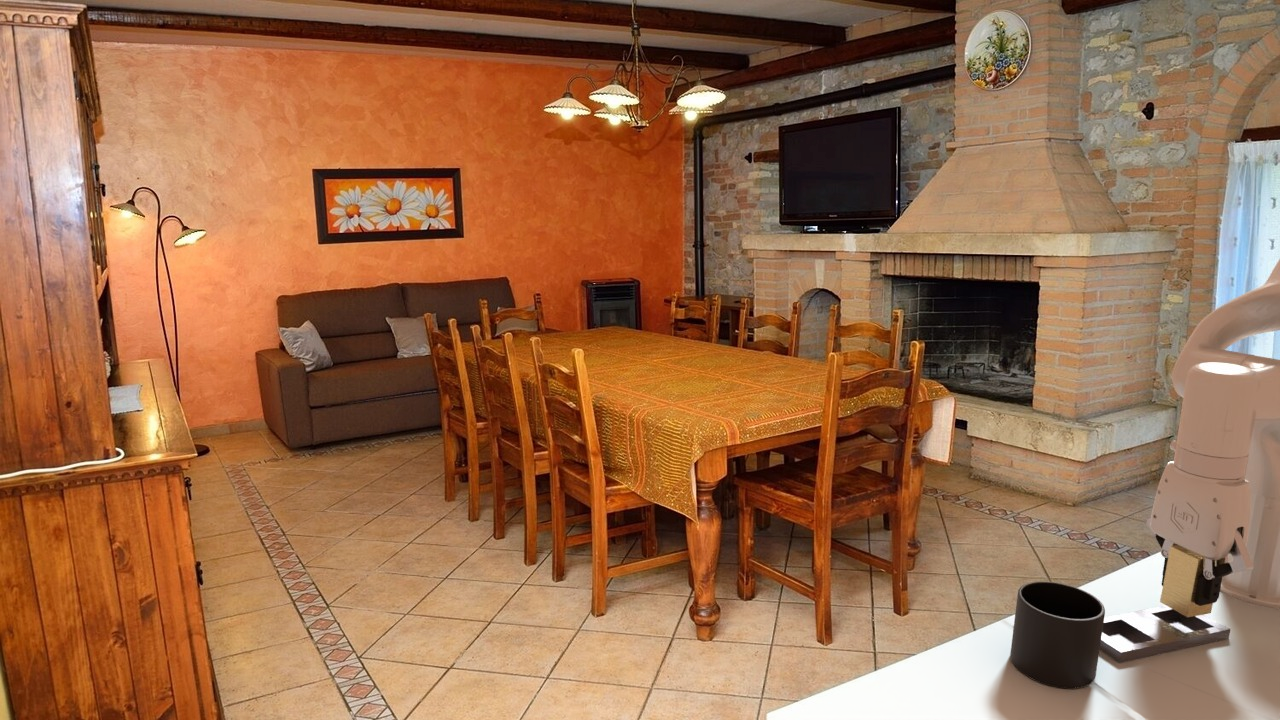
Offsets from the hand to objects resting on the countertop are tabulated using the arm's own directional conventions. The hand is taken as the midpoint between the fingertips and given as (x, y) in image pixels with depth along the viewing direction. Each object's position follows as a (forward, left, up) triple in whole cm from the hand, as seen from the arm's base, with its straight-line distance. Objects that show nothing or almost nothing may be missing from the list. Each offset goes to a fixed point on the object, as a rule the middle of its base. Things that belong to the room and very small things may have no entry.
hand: (1188, 592), depth 109 cm
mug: (+18, +11, -6) cm, 22 cm away
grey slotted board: (+5, +3, -6) cm, 8 cm away
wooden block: (0, 0, -2) cm, 2 cm away
